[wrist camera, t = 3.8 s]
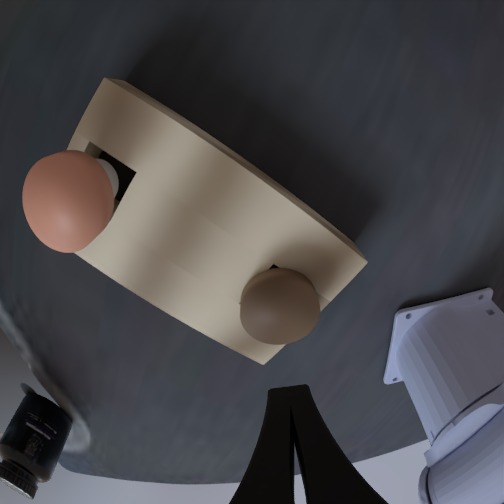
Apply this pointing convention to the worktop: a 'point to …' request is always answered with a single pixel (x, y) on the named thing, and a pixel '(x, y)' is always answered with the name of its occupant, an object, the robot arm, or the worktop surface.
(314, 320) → the walnut plunger
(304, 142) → the worktop surface
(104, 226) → the terracotta plunger
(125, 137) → the board
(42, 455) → the supplement bottle
